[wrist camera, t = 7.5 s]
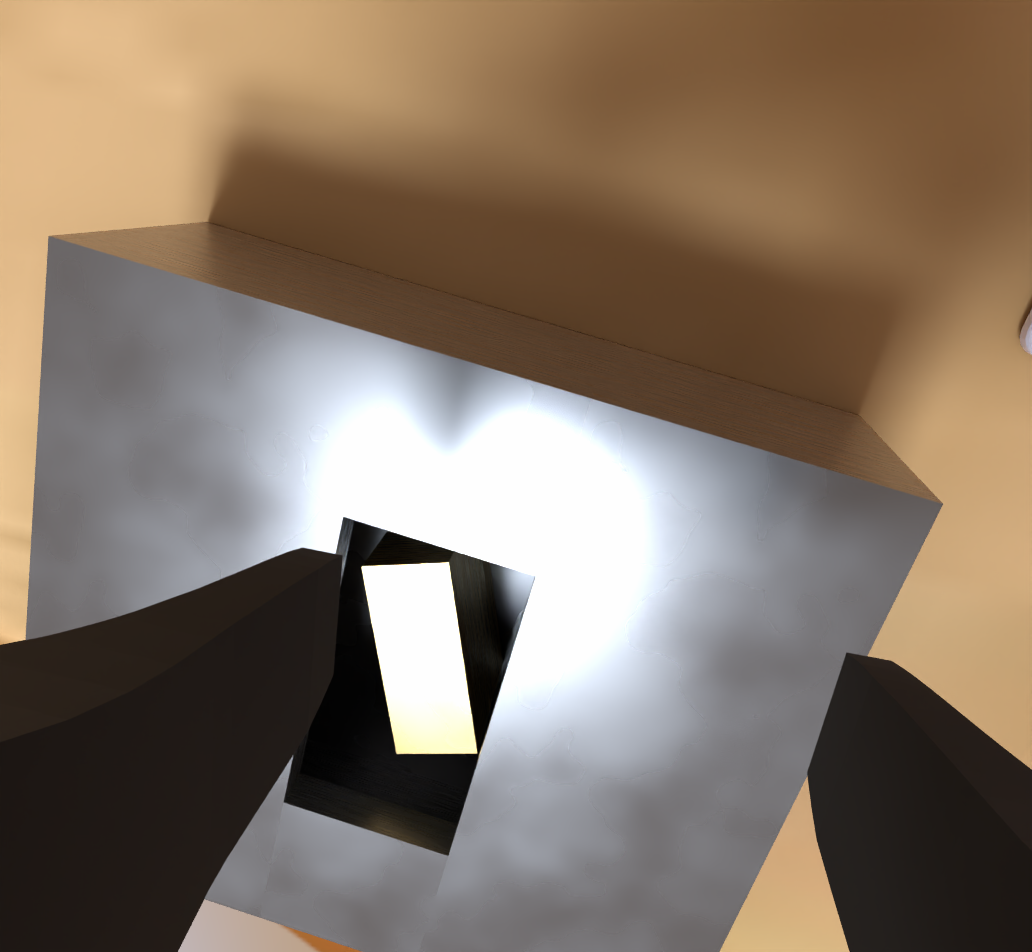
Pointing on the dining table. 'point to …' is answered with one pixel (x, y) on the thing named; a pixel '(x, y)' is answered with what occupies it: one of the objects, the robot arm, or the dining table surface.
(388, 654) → the block
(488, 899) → the coin box
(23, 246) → the dining table surface
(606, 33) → the dining table surface
